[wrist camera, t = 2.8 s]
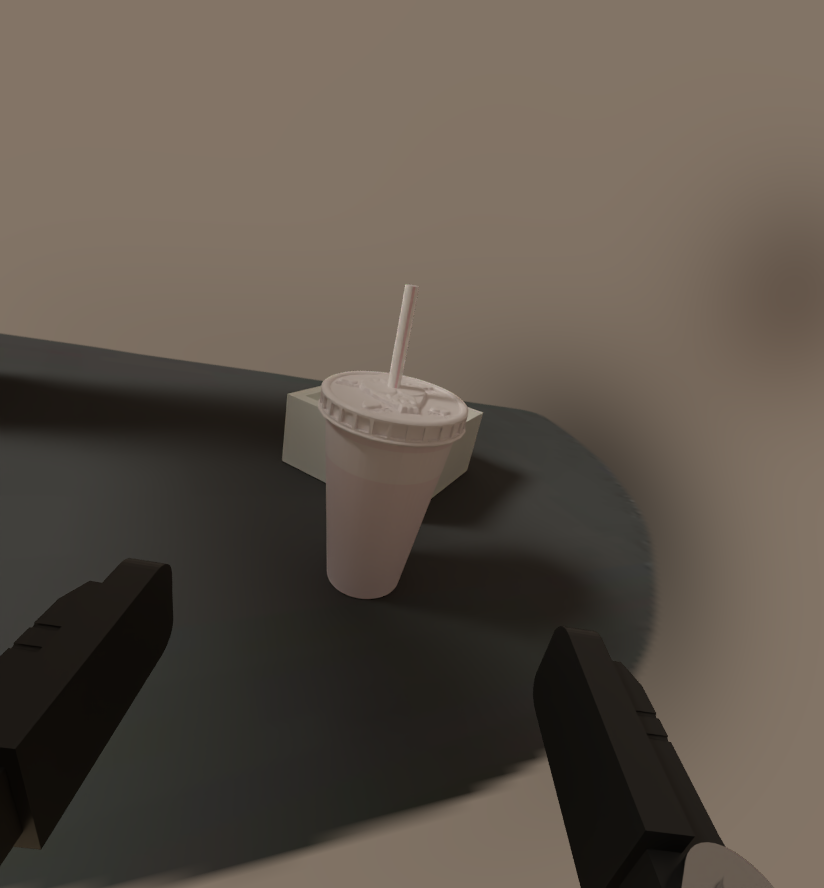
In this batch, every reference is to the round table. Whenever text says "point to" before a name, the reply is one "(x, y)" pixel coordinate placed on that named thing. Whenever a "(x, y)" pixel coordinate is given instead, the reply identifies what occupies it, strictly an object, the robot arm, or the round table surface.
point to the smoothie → (382, 464)
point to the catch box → (309, 439)
